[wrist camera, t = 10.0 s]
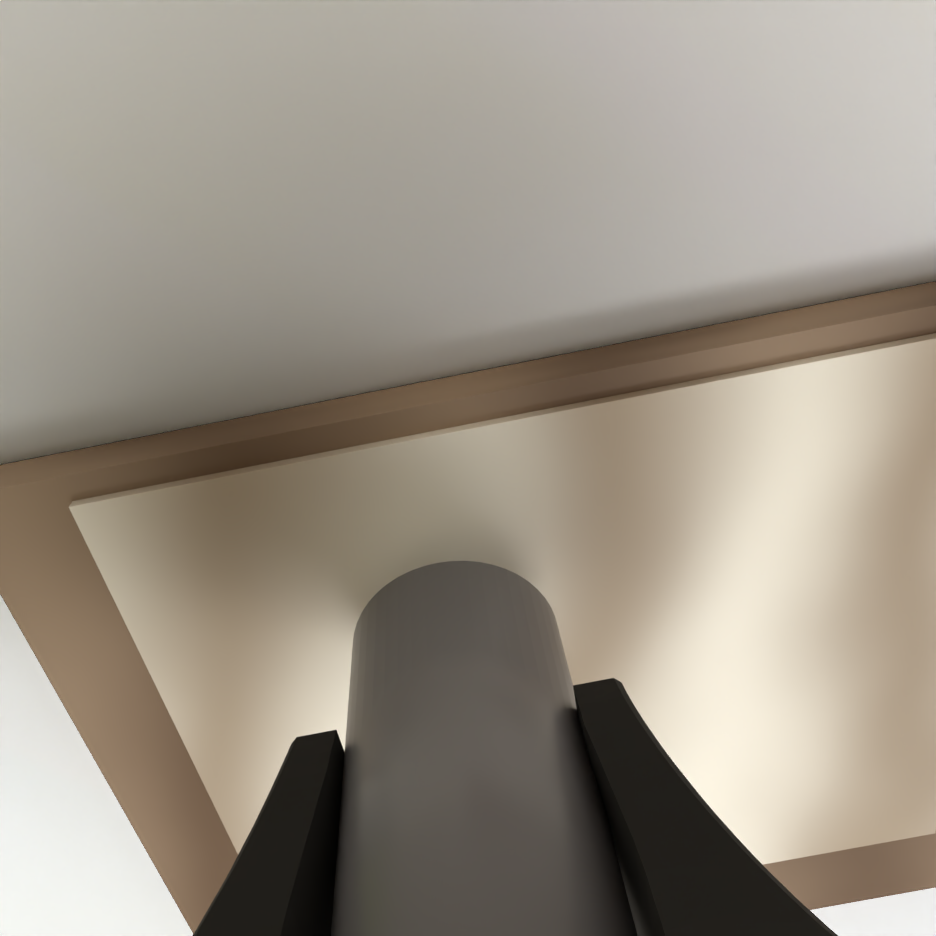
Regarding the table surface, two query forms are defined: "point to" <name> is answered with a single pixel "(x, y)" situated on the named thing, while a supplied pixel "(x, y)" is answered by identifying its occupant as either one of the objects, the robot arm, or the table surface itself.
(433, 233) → the table surface
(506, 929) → the marker
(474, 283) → the table surface
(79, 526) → the clipboard
